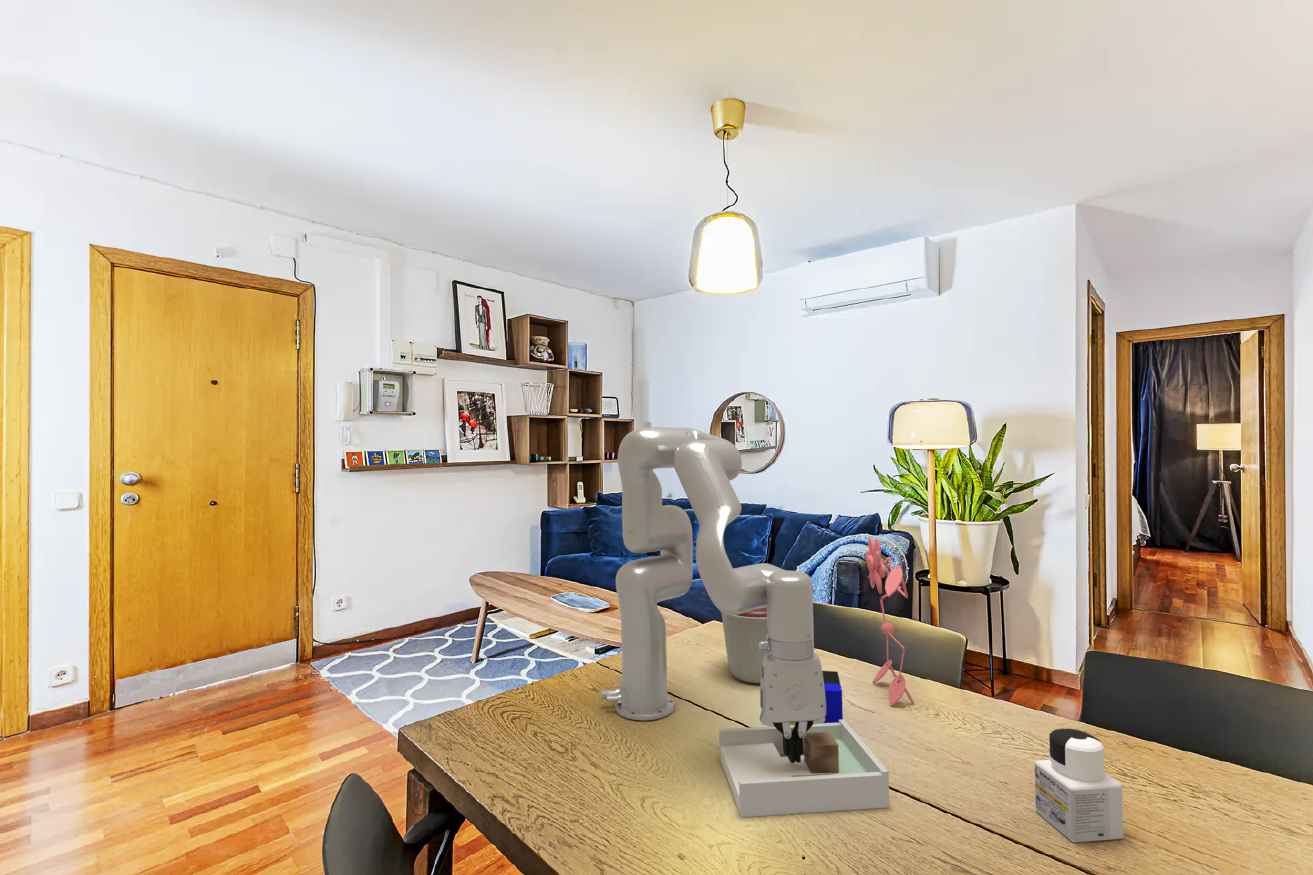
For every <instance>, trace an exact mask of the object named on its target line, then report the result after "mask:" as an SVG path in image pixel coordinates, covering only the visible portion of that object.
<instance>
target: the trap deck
mask: <svg viewBox="0 0 1313 875" xmlns="http://www.w3.org/2000/svg"><path fill="white" fill-rule="evenodd" d="M793 728H794V725H790V729H791V732H792V730H793ZM816 732H830V733H831V734H832V736H833V737H834V739H835V741H836V742H837V744H838V750H839V773H817V774H811V772H810V770H809V768H808V766H807V764H806V762H805V760H804V738H803V754H802V755H801V762H800V763H797V762H796V761H795V762H794V763H791V762H790V761H789V759H788V757H787V755H784V752H783V734H782V733H781V732H779V731H778V730H777V729H776V728H775V727H770V726H752V727H751V726H750V727H737V728H736V727H735V728H719V729H718V737H719V738H718V739H719V741H718V742H719V744H718V745H719V746H718V748H719V760H720V761H721V765H722V768H723V771H724V773H725V776H726V779H727V781H728V784H729V787H730V790H731V793H732V796H733V798H734V802H735V804H736V807H737V810H738V813H739V816H740V818H750V817H751V818H752V817H753V818H754V817H767V816H769V817H770V816H780V815H781V816H782V815H784V816H785V815H797V814H799V815H800V814H813V813H828V812H829V813H830V812H839V811H840V812H843V811H857V810H858V811H859V810H874V809H887V808H888V809H889V808H890V785H889V784H890V782H889V781H890V779H889V776H890V775H889V773H890V772H889V770H888V769H887V768H886V767H885V765H883V763H882V762H881V761H880V759H878V757H877V756H876V755H875V754H874V753H873V752H872V751H871V749H870V747H868V745H867V744H865V742H864V741H863V739H861V738H860V736H859V735H858V734H857V733H856V732H855V730H854V729H853V728H852V727H851V725H849V723H848V722H847V721H846V720H845V719H843V720H839V723H822V724H814V725H812V727H811V728H810V729H809V730H808V731H807V732H806V733H816Z"/></svg>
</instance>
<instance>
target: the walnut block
mask: <svg viewBox="0 0 1313 875" xmlns="http://www.w3.org/2000/svg"><path fill="white" fill-rule="evenodd" d="M804 760H805V762H806V764H807V766H808V768H809V770H810V772H811V774H817V773H839V750H838V744H837V742H836V741H835V739H834V737H833V736H832V734H831V733H830V732H816V733H806V735H805V737H804Z"/></svg>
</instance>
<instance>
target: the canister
mask: <svg viewBox="0 0 1313 875" xmlns="http://www.w3.org/2000/svg"><path fill="white" fill-rule="evenodd" d="M719 612H720V613H721V618H722V619H721V620H722V627H723V634H724V636H723V637H724V643H725V650H726V655H727V656H726V657H727V663H728V668H729V670H730V672H731V674H732V675H733V676H734V677H735V678H736V679H738V680H739V681H743V682H745V683H750V684H758V685H759V684H761V672H762V664H763V659H764V654H765V653H768V652H767V651H764V650H760V649H759V642H763V641H765V640H766V635H767V607H766V608H761V609H756V610H752V611H749V612H745V613H742V614H738V615H728V614H725V613H723V612H721V611H720V610H719Z"/></svg>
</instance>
